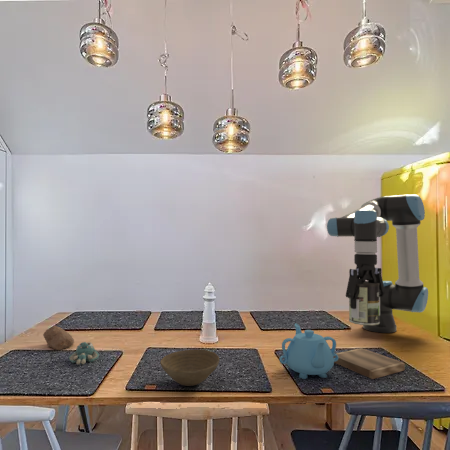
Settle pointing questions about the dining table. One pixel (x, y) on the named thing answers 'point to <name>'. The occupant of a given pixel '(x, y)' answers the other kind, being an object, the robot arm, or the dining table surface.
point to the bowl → (190, 366)
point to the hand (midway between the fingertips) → (365, 316)
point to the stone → (58, 338)
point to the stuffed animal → (84, 353)
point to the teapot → (309, 353)
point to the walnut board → (369, 363)
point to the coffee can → (367, 304)
